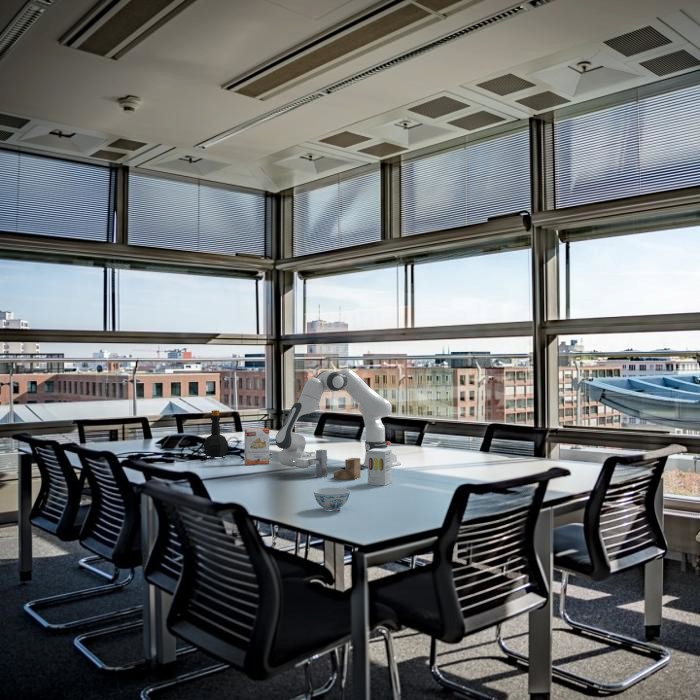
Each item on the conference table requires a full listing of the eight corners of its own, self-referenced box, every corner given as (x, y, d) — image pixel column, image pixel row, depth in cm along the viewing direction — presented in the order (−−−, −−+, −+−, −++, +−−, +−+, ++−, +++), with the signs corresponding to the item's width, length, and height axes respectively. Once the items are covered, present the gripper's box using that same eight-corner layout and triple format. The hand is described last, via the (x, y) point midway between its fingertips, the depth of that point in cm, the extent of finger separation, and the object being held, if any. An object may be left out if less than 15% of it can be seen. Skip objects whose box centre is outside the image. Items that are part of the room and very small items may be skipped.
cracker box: (246, 465, 416) (246, 429, 416) (244, 464, 422) (243, 429, 422) (270, 464, 421) (269, 428, 422) (267, 462, 427) (266, 427, 427)
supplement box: (367, 484, 348) (366, 450, 348) (374, 481, 356) (374, 448, 357) (385, 486, 344) (385, 451, 344) (392, 482, 352) (391, 448, 353)
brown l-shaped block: (333, 478, 367) (333, 459, 367) (339, 476, 374) (339, 457, 374) (354, 479, 362) (354, 460, 363) (360, 477, 370) (360, 458, 370)
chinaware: (351, 505, 298) (351, 487, 298) (349, 513, 283) (348, 494, 283) (315, 505, 299) (315, 487, 299) (311, 513, 284) (311, 494, 284)
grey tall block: (316, 477, 373) (315, 450, 373) (321, 476, 376) (320, 449, 376) (322, 477, 370) (321, 450, 370) (327, 476, 373) (326, 450, 374)
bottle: (208, 460, 442) (207, 411, 442) (199, 457, 456) (199, 410, 456) (232, 458, 450) (232, 410, 450) (223, 455, 464) (222, 409, 464)
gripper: (289, 456, 373) (309, 458, 364) (315, 451, 389) (334, 453, 381) (289, 468, 373) (309, 470, 364) (315, 463, 389) (335, 465, 380)
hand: (322, 461), depth 373 cm, fingers closed on grey tall block, 4 cm apart
